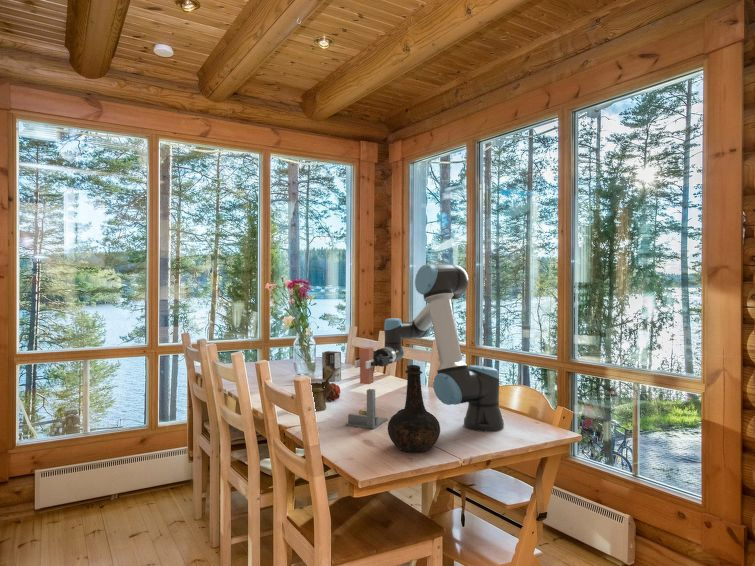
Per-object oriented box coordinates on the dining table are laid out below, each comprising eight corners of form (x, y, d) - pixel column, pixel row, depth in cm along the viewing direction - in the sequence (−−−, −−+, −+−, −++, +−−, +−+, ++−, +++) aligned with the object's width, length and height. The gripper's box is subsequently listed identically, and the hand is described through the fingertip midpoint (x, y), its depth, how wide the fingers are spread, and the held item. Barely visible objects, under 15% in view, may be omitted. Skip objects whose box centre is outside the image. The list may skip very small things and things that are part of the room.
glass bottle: (421, 437, 188) (421, 359, 188) (451, 451, 172) (451, 367, 172) (378, 444, 179) (377, 363, 179) (405, 460, 164) (404, 371, 163)
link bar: (364, 381, 209) (364, 346, 209) (373, 382, 208) (373, 347, 208) (360, 383, 206) (359, 348, 206) (369, 384, 204) (369, 348, 204)
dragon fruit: (331, 406, 240) (329, 404, 252) (345, 394, 242) (342, 392, 254) (320, 391, 241) (318, 390, 252) (334, 380, 242) (332, 379, 254)
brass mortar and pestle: (336, 411, 225) (336, 369, 225) (305, 412, 224) (304, 370, 224) (336, 406, 234) (335, 366, 234) (305, 407, 233) (305, 366, 233)
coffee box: (341, 380, 294) (341, 351, 294) (334, 382, 289) (334, 353, 289) (328, 378, 299) (328, 350, 299) (321, 380, 294) (321, 352, 294)
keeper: (360, 417, 215) (360, 381, 215) (387, 420, 211) (387, 383, 211) (344, 426, 202) (344, 388, 202) (372, 429, 197) (372, 390, 197)
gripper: (403, 366, 220) (381, 376, 198) (366, 364, 227) (341, 373, 205) (403, 348, 220) (381, 356, 198) (366, 346, 226) (341, 354, 205)
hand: (360, 364), depth 202 cm, fingers closed on link bar, 4 cm apart
